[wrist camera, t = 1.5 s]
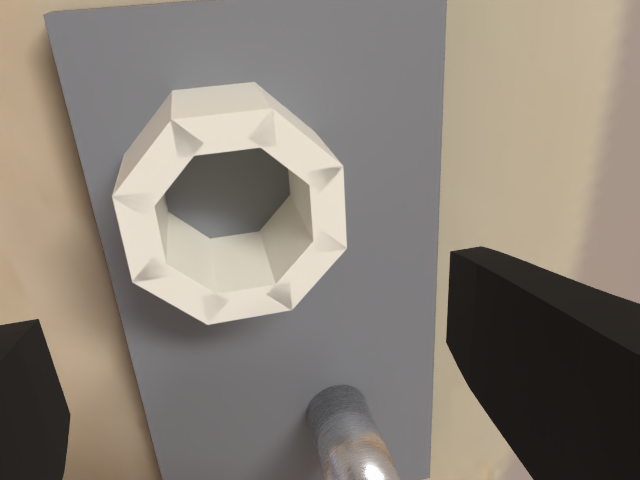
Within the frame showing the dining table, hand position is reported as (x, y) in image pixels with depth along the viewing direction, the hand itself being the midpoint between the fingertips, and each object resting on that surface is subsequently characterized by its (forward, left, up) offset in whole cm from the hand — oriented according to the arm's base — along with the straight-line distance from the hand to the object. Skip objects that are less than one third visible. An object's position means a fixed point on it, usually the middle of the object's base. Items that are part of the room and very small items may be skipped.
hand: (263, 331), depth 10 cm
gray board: (-3, -4, -10) cm, 11 cm away
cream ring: (0, 0, -8) cm, 8 cm away
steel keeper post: (-6, -9, -8) cm, 13 cm away
